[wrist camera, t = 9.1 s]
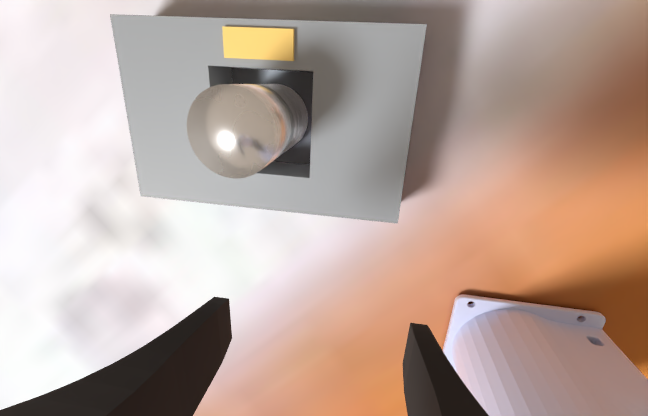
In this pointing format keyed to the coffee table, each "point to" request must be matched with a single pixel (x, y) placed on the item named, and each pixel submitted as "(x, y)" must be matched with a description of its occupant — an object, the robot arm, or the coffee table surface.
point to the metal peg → (245, 126)
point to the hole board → (327, 108)
